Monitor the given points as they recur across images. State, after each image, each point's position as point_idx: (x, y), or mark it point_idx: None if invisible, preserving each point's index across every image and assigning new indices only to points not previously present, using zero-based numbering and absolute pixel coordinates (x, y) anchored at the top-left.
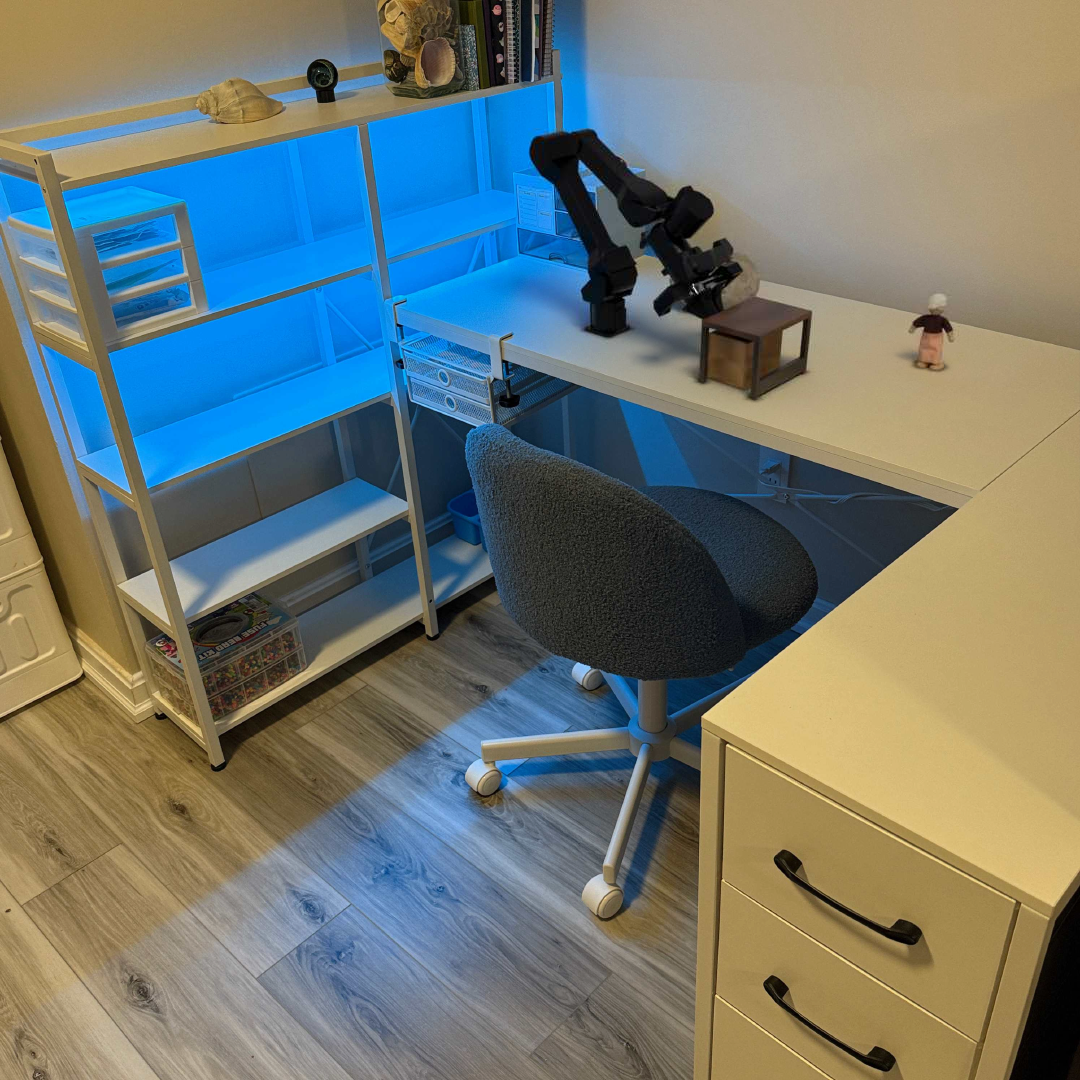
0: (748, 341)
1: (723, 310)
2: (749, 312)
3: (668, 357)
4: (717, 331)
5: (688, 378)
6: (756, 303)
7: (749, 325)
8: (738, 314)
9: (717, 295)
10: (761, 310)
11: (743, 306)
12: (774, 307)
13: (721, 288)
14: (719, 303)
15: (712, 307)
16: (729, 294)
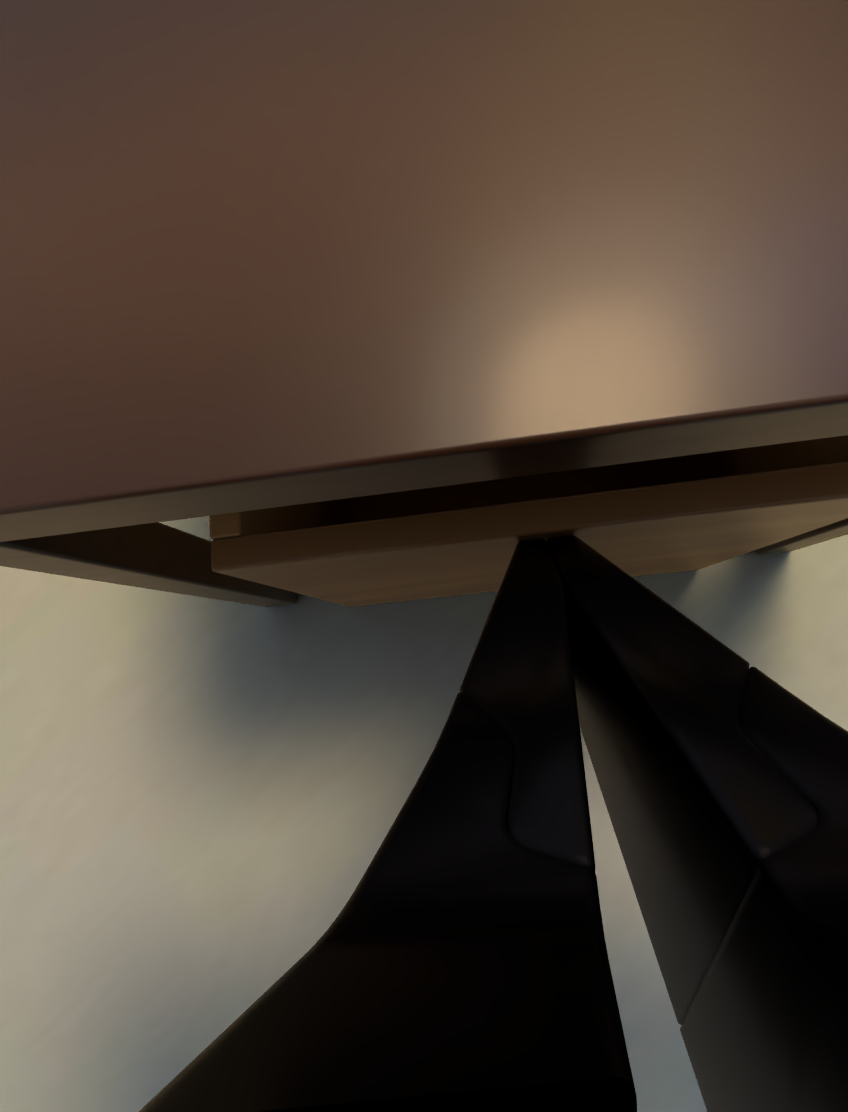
0: (320, 522)
1: (490, 656)
2: (489, 60)
3: (662, 1000)
4: (784, 470)
5: (804, 636)
6: (81, 280)
7: None
8: (709, 93)
9: (512, 939)
10: (284, 25)
11: (335, 314)
12: (66, 6)
13: (241, 1093)
14: (523, 761)
15: (791, 726)
16: None
